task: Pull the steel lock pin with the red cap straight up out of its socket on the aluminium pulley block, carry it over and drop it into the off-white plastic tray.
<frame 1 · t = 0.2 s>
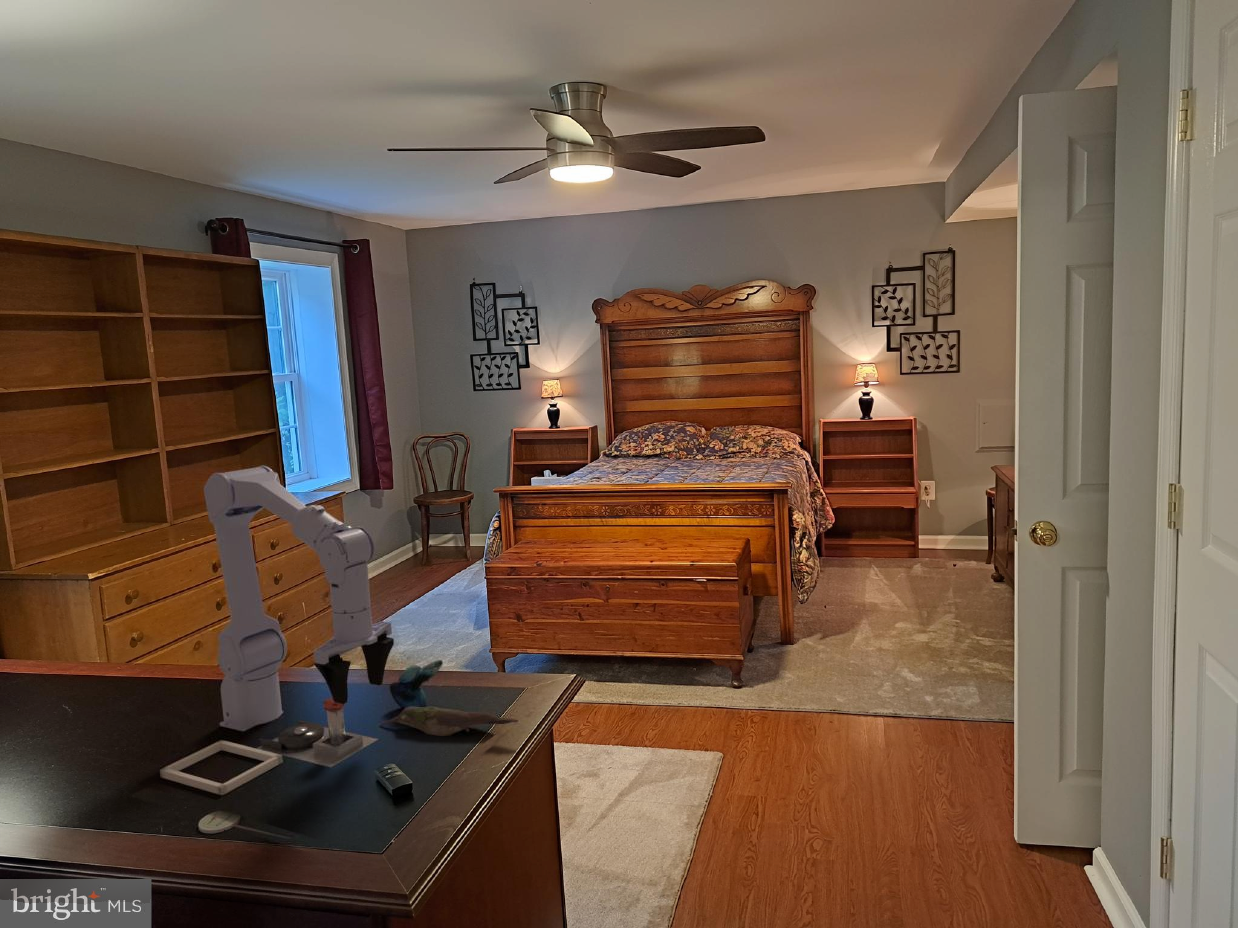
hand: (358, 692, 135), 10 cm above the table, tool pointing down, fingers open, 7 cm apart
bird: (446, 738, 141), on the table
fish: (419, 715, 150), on the table
pin: (338, 748, 136), point 1 cm above the table, touching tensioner
sign: (248, 833, 116), on the table
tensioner: (318, 750, 138), on the table
tray: (223, 776, 131), on the table
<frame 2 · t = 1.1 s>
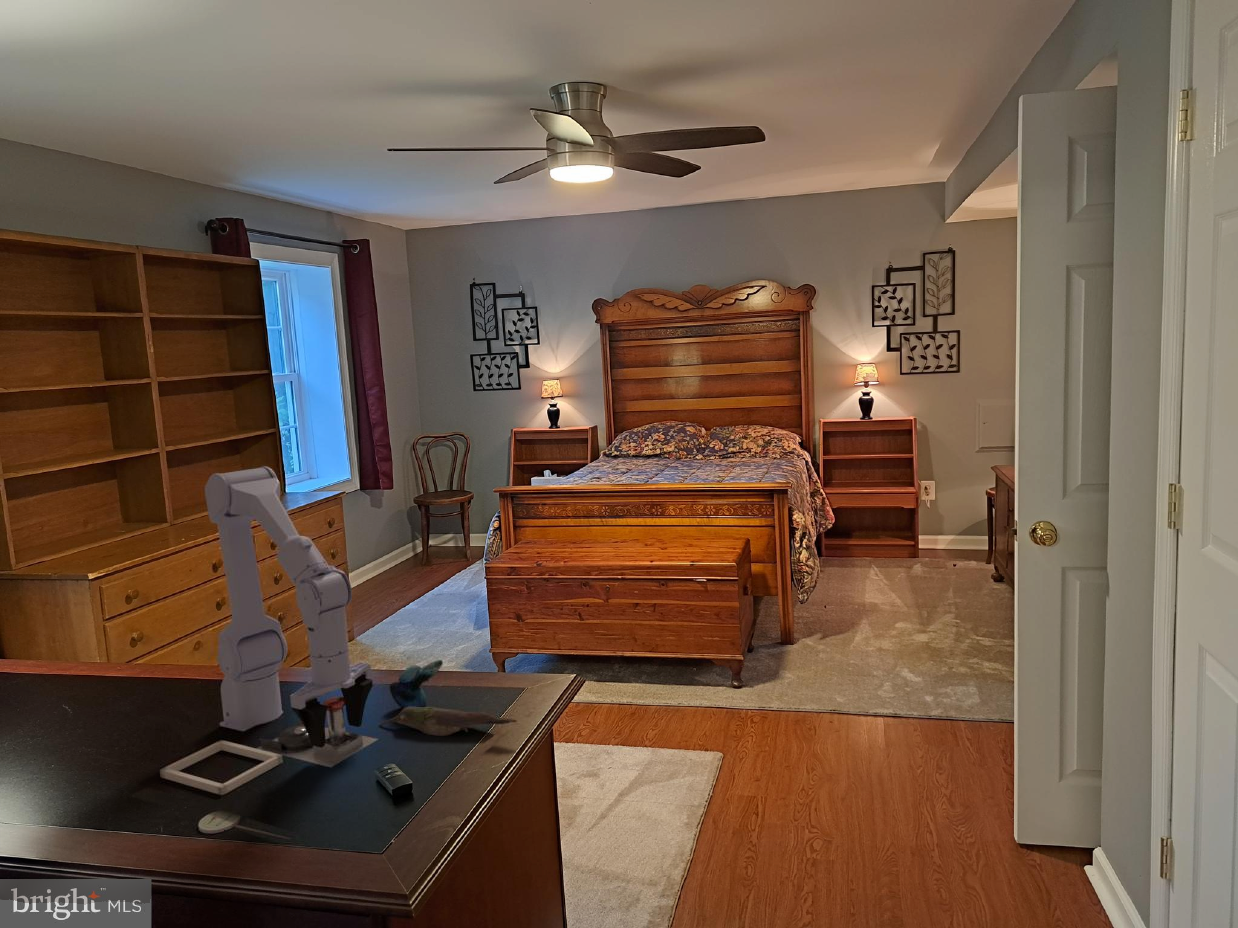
hand: (337, 735, 135), 3 cm above the table, tool pointing down, fingers open, 7 cm apart
nothing on the table moved.
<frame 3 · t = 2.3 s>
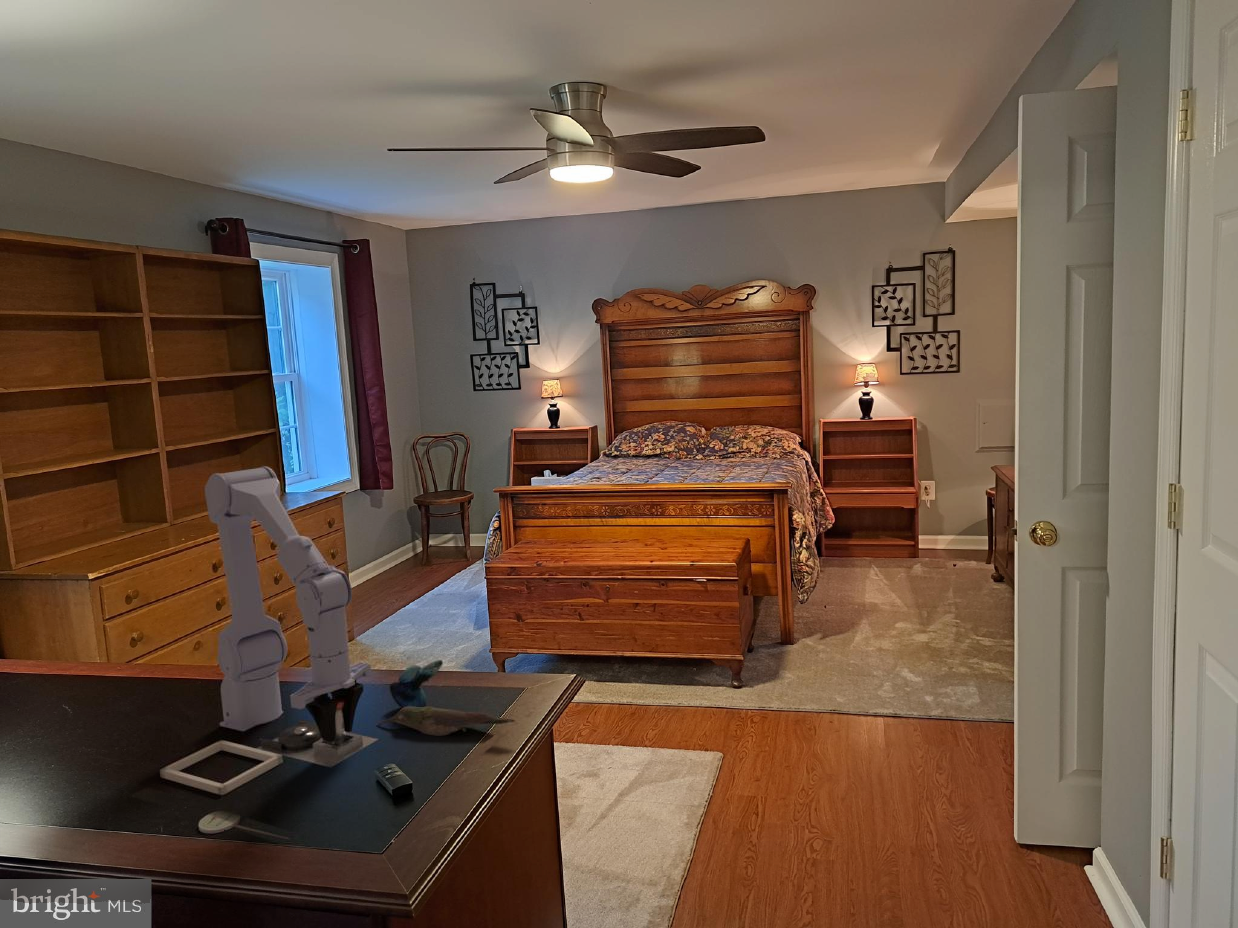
hand: (337, 735, 135), 3 cm above the table, tool pointing down, fingers closed on pin, 3 cm apart
pin: (338, 748, 136), point 1 cm above the table, touching gripper, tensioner
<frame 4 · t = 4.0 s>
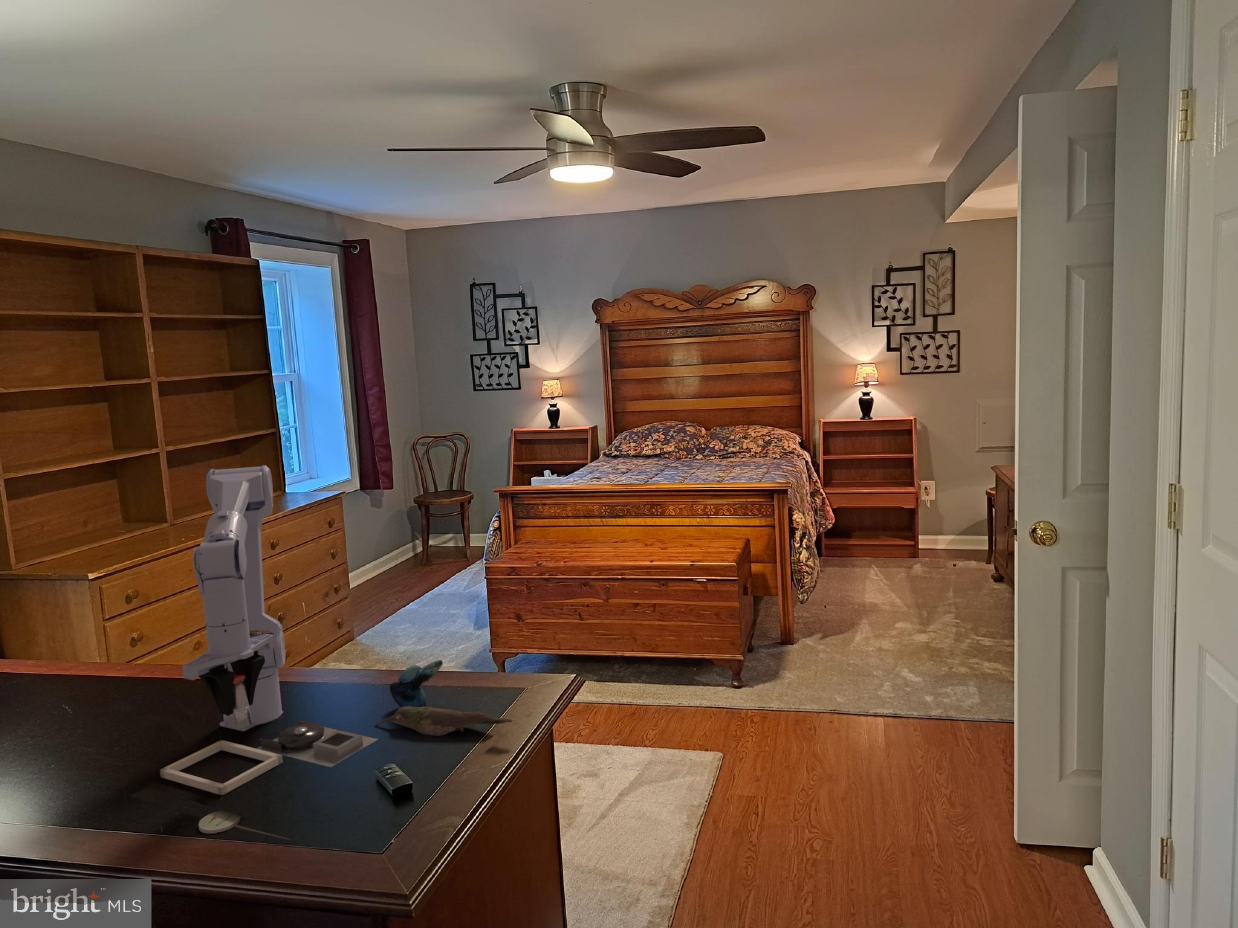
hand: (236, 708, 130), 10 cm above the table, tool pointing down, fingers closed on pin, 3 cm apart
pin: (243, 724, 131), point 8 cm above the table, touching gripper
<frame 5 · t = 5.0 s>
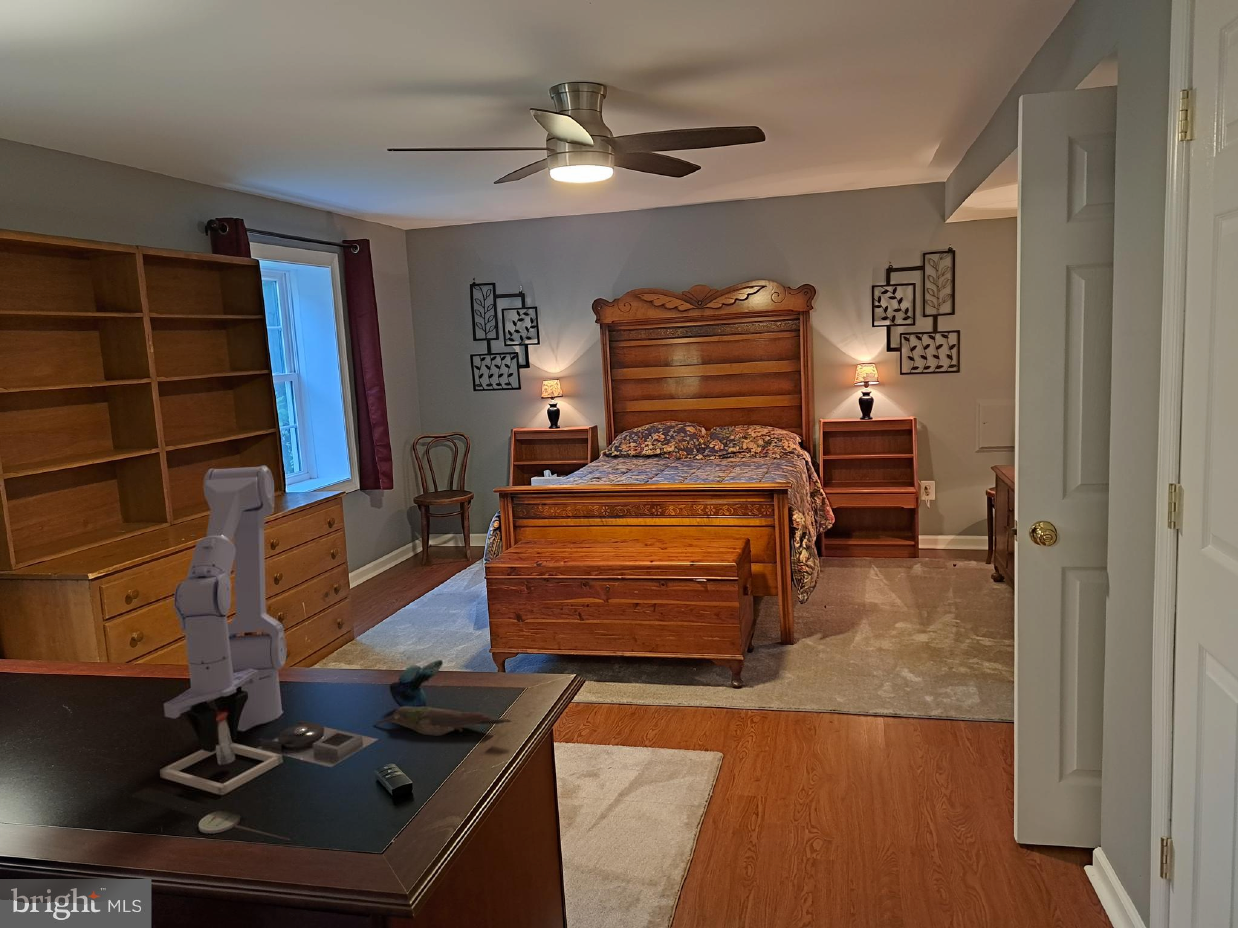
hand: (219, 745, 130), 5 cm above the table, tool pointing down, fingers closed on pin, 3 cm apart
pin: (226, 760, 130), point 3 cm above the table, touching gripper
when the fingers open (4 cm above the table, at t = 5.9 s): pin drops 1 cm, resting on tray.
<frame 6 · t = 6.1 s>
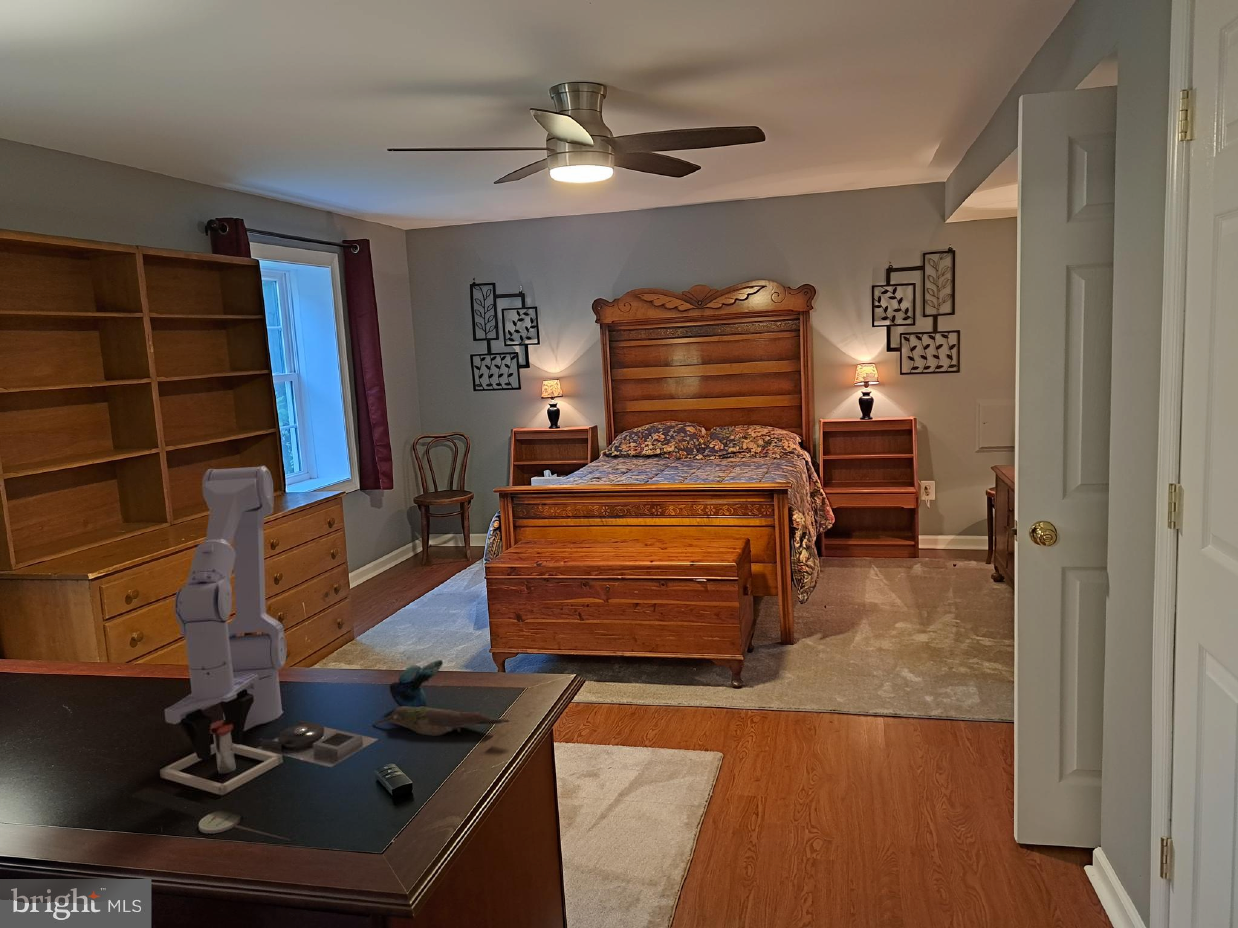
hand: (220, 750, 130), 4 cm above the table, tool pointing down, fingers open, 5 cm apart
pin: (227, 773, 131), point 1 cm above the table, touching tray
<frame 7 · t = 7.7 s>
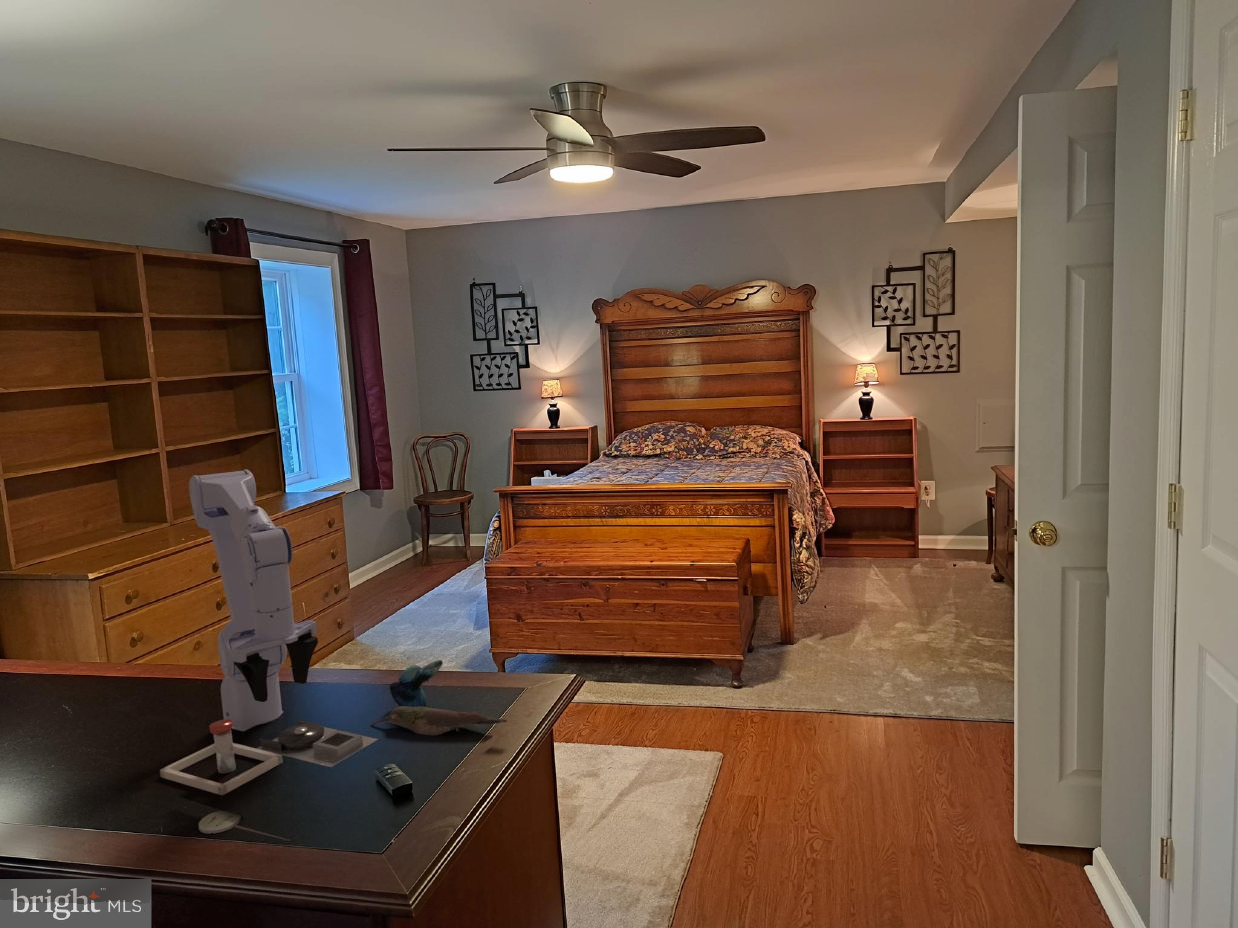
hand: (281, 691, 136), 10 cm above the table, tool pointing down, fingers open, 7 cm apart
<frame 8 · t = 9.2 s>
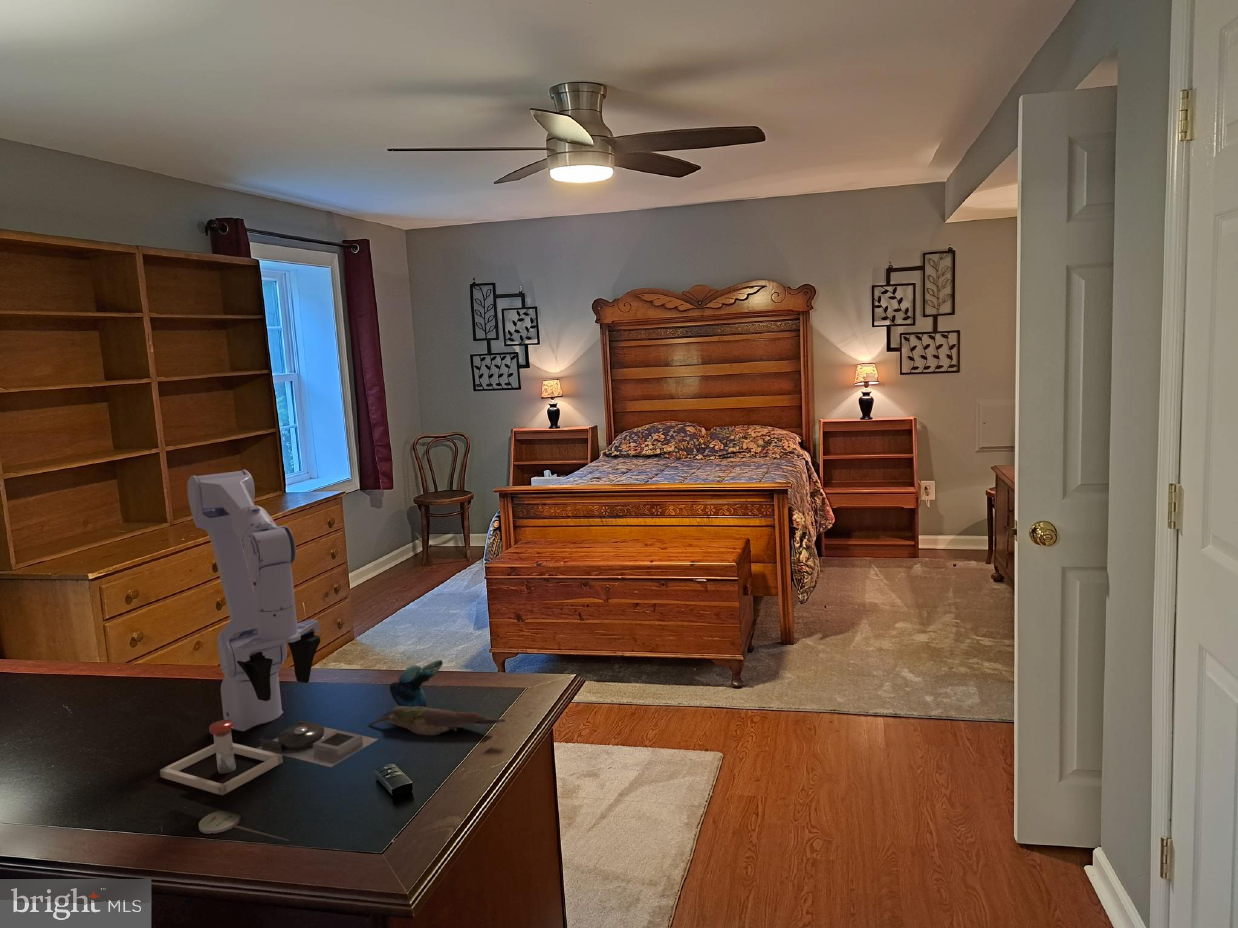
hand: (284, 690, 137), 10 cm above the table, tool pointing down, fingers open, 7 cm apart
at the end: pin inside the target area on the tray (0.8 cm from its centre), point 0.5 cm above the tray's base; the gripper is holding nothing; pin moved 15.9 cm from its start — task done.
